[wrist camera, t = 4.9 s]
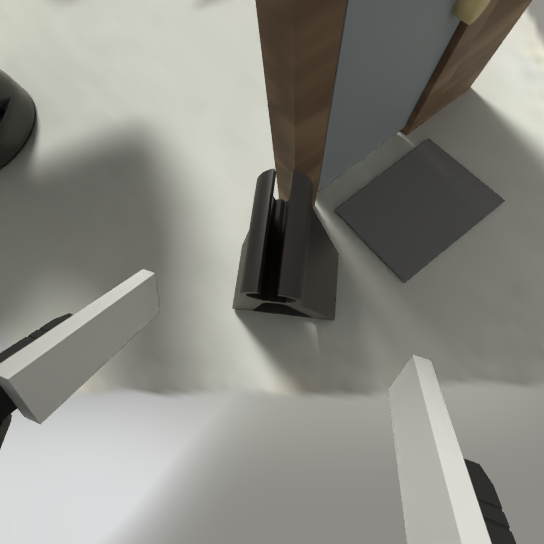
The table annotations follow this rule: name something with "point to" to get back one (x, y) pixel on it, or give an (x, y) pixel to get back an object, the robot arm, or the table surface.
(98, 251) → the table surface
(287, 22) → the door frame
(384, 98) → the door
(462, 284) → the table surface
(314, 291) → the phone stand
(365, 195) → the mat
